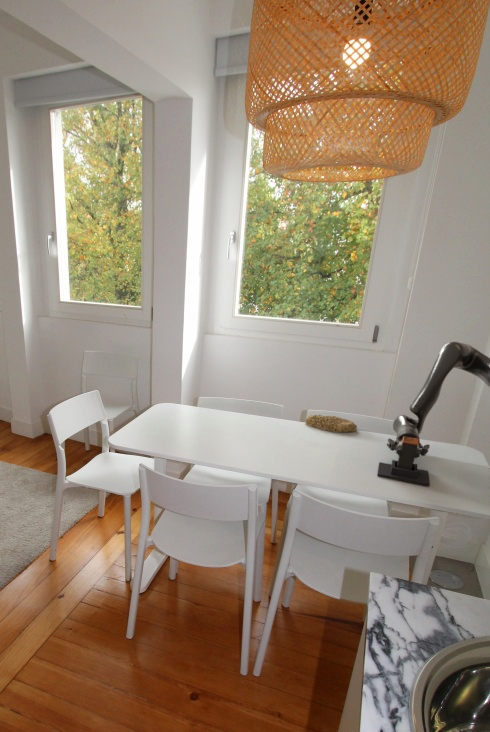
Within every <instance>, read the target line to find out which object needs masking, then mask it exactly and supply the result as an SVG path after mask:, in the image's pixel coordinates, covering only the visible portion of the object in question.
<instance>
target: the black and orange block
mask: <svg viewBox="0 0 490 732" xmlns="http://www.w3.org/2000/svg"><path fill="white" fill-rule="evenodd" d="M417 446H418V438H411V437H405V436H403V441H402V446H401V454H400V455H398V459H397V461H398V463H397V468H402V469H407V470H412V466H413V464H414V462H415V459H416V458H415V454H416V450H417Z"/></svg>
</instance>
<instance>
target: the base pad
mask: <svg viewBox="0 0 490 732" xmlns="http://www.w3.org/2000/svg"><path fill="white" fill-rule="evenodd" d="M397 463H398V460H396V459H392V460H391V463H386V462H381V461H380V462H378V467H377V468H378V469H377V477H379V478H383V479H389V480H395V481H400V482H403V483H404V482H405V483H410V484H414V485H420V486H426V487H429V486H430V476H429V470H426V469H420V468H418V463H413V466H412V470H407V469H402V468H397Z"/></svg>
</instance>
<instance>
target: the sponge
mask: <svg viewBox="0 0 490 732" xmlns="http://www.w3.org/2000/svg"><path fill="white" fill-rule="evenodd" d="M305 425H306V426H309V427H311V428H316V429H320V430H323V431H326V432H332V433H354V432H357V428H358V425H356V424H355V422H354V421H352V420H349V419H346V418H342V417H339V416H333V415H322V414H310V415H309V416H308V417H307V418H305Z"/></svg>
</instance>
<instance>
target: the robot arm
mask: <svg viewBox="0 0 490 732" xmlns="http://www.w3.org/2000/svg"><path fill="white" fill-rule="evenodd" d="M430 369H431V370H430V372H429V374H428V375H427V377H426V380H425V382H424V384H423V386H422V387H421V389H420V390H419V392H418V393H417V395H416V396H415V398H414V399H413V401H412V402H411V404H410V406H409V407H408V409H409V411H410V412H411V413H412V414H413V415H415V416H416V418H417V419H415V418H412V417H410V416H408V415H407V414H400V415H398V416H396V417H395V419H394V420H393V423H392V430H393V431H394V433H395V434H396V436H395V437H396V438H395V440H394V439H392V438H388V439H387V442H386V447H388V449H389V450H390V451H393V452H394V451H395V454H397V456H399V455H400V454H401V446H402V441H403V436H405V437H411V438H418V446H417V450H416V454H415V458H414V459H417V458H420V456H422V457H423V456H424V457H425V456H426V455H427V454H428V453H429V450H430V448H431V445H430V444H424V445H422V443H421V442H420V441H421V440H420V434H421V433H422V431H423V427H424V424H425V421H426V420H427V416H428V414H429V413H430V412H431V411H432V409H433V407H434V406H435V405H436V403H437V401H438V399H439V398H440V395H441V391H442V386H443V384H444V382H445V380H446V378H447V377H448V375H449V374H450V373H451V371H452V370H454V369H457V370H461V371H465V372H467V373H469V374H471V375H473V376H476V377H477V378H479V379H480V380H481V381H482V382H483V383H484V384H485V385H486V386H487V387H488V388H490V357H489V356H488V355H486V354H485V353H483V352H481V351H480V350H479V349H477V348H475V347H474V346H472V345H470V344H468V343H464V342H459V341H450V342H447V343H446V344H444V345H443V346H442V347H441V349H440V351H439V352H438V354H437V357H436V359H435V360H434V363H433V365H432V367H431V368H430Z"/></svg>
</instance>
